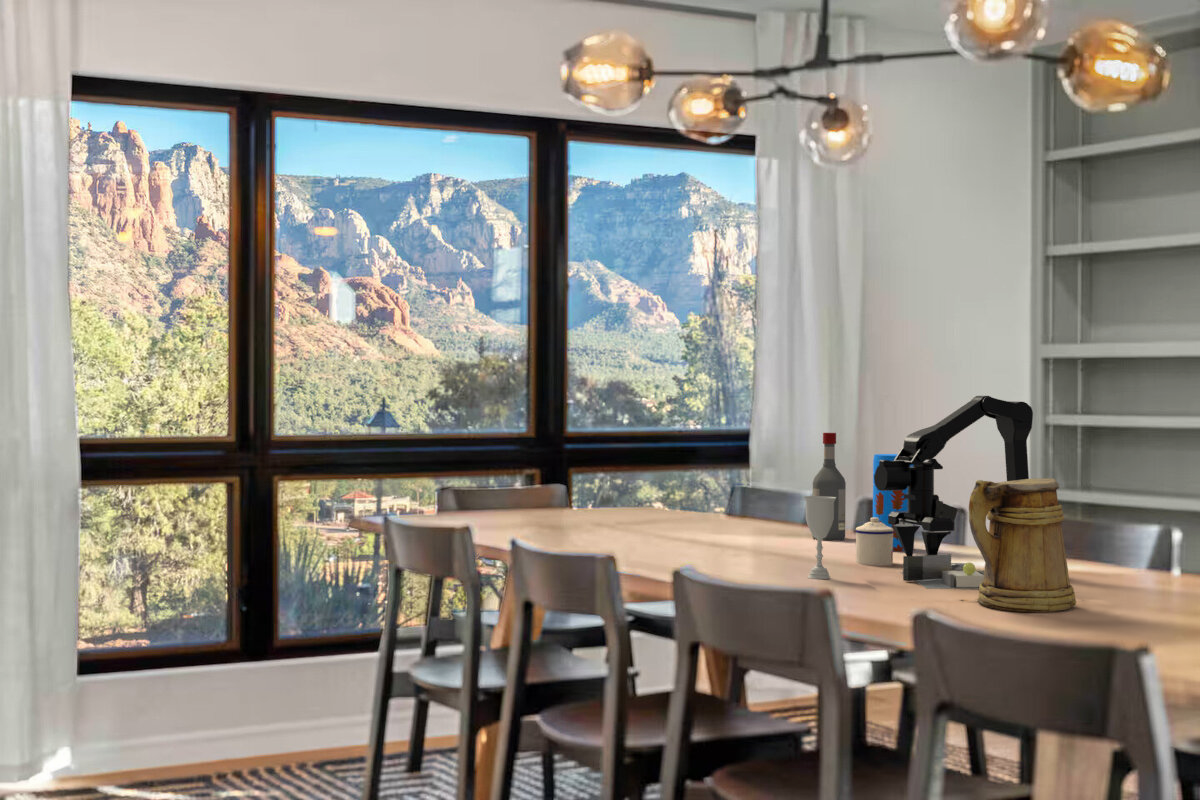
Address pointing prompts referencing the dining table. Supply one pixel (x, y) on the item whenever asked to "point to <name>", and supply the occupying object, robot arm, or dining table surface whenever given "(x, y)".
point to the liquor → (832, 487)
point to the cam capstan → (929, 566)
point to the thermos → (888, 500)
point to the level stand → (943, 582)
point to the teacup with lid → (874, 544)
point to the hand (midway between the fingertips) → (920, 559)
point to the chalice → (819, 528)
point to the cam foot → (967, 576)
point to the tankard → (1021, 545)
